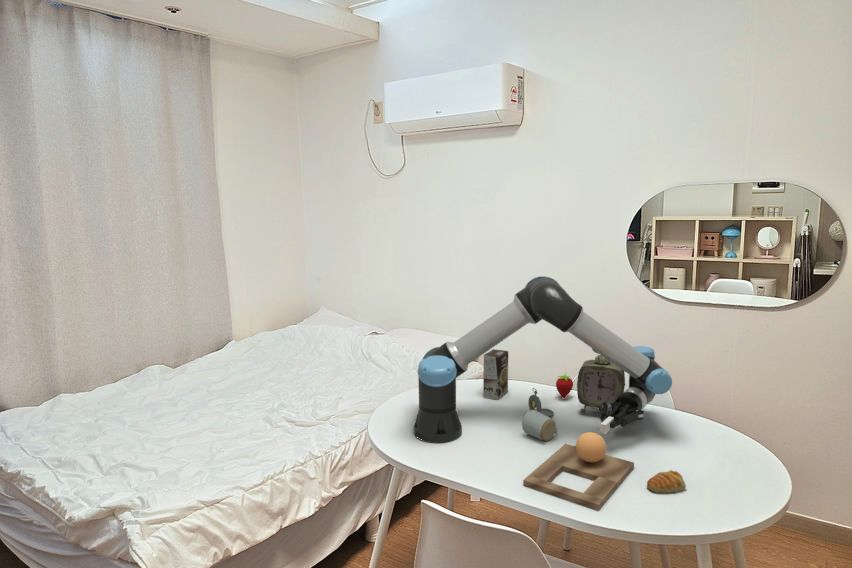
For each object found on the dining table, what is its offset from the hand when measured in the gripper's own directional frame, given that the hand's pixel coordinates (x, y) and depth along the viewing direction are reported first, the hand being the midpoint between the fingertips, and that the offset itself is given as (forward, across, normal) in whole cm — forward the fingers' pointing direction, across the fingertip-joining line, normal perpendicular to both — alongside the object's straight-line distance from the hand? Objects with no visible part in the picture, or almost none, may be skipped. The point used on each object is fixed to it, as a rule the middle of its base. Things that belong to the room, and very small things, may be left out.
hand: (603, 428), depth 165 cm
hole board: (+16, 0, -8) cm, 17 cm away
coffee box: (-23, +49, -8) cm, 55 cm away
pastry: (+8, -20, -8) cm, 23 cm away
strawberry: (-34, +27, -8) cm, 45 cm away
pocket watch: (-15, +27, -8) cm, 32 cm away
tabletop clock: (-29, +12, -8) cm, 32 cm away
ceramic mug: (-1, +20, -8) cm, 21 cm away
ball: (+8, 0, -2) cm, 9 cm away
